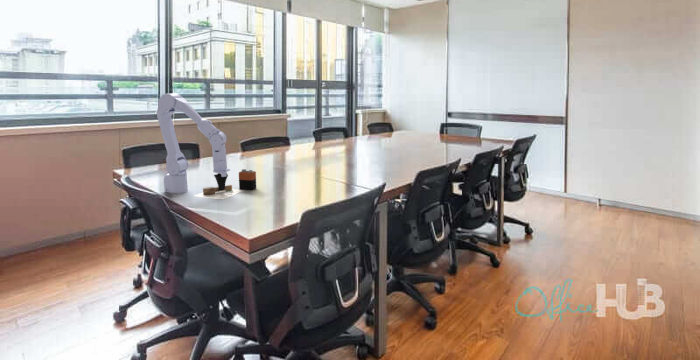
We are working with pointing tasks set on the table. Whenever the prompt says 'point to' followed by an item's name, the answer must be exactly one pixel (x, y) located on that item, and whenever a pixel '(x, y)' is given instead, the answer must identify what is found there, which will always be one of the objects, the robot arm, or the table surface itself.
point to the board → (220, 194)
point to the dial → (215, 189)
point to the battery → (247, 180)
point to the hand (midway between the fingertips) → (221, 189)
